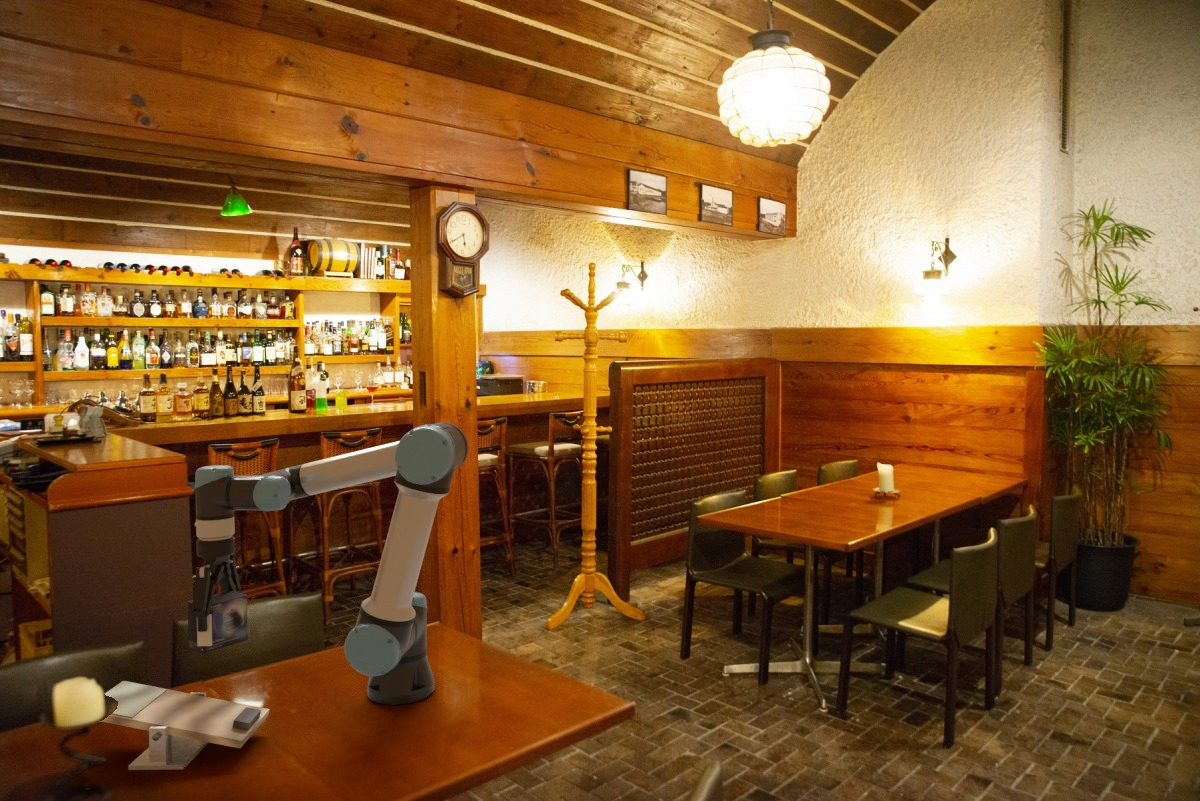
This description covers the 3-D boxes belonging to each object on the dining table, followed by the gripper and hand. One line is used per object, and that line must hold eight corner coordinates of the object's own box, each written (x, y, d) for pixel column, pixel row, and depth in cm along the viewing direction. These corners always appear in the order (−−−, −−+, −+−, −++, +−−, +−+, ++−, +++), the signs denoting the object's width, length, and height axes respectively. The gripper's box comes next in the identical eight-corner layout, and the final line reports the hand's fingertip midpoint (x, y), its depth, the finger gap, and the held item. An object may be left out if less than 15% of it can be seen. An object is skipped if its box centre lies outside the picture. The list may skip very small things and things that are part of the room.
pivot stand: (224, 726, 166) (224, 690, 165) (183, 769, 148) (182, 729, 147) (176, 726, 165) (175, 691, 165) (128, 770, 147) (127, 730, 147)
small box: (204, 654, 167) (203, 605, 166) (186, 649, 170) (185, 601, 170) (249, 640, 176) (248, 593, 175) (232, 635, 179) (230, 589, 179)
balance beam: (268, 716, 164) (271, 702, 164) (240, 748, 150) (243, 733, 150) (122, 687, 163) (125, 673, 163) (80, 717, 149) (83, 702, 149)
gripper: (222, 526, 184) (224, 618, 185) (170, 549, 160) (172, 655, 161) (255, 526, 184) (256, 618, 185) (208, 549, 160) (210, 655, 161)
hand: (217, 635), depth 173 cm, fingers closed on small box, 12 cm apart
